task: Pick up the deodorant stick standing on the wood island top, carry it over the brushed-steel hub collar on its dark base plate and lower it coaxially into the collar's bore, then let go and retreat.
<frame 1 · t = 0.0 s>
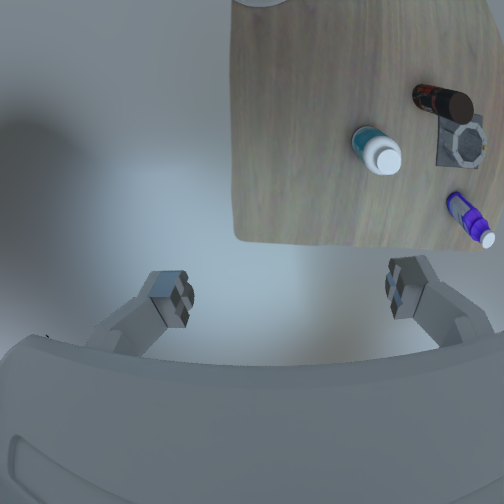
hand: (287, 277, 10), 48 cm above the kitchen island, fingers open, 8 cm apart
bottle: (454, 202, 54), on the kitchen island
pill bottle: (367, 141, 50), on the kitchen island
deodorant: (423, 97, 41), on the kitchen island
hub collar: (460, 139, 44), on the kitchen island
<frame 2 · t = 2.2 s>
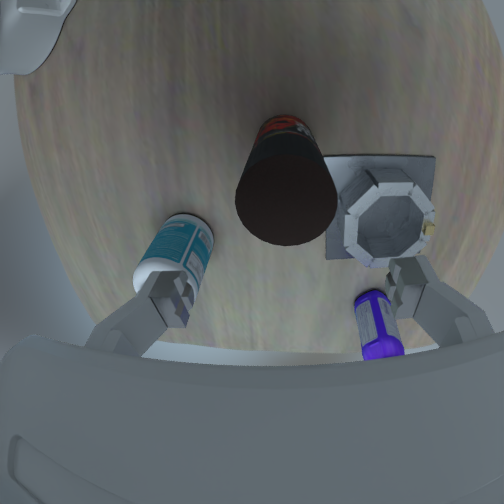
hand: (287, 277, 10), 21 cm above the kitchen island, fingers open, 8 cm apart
bottle: (371, 301, 40), on the kitchen island
pill bottle: (189, 234, 36), on the kitchen island
deodorant: (284, 140, 27), on the kitchen island
hub collar: (379, 208, 30), on the kitchen island
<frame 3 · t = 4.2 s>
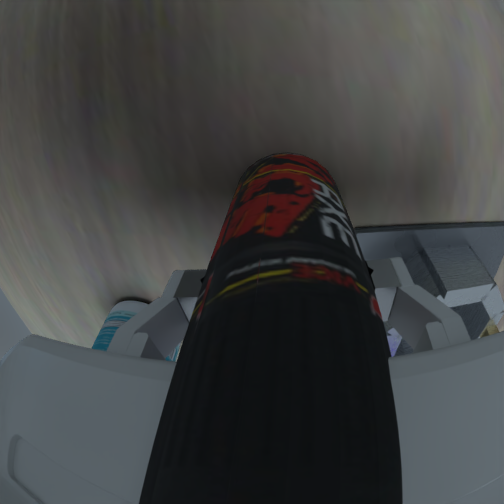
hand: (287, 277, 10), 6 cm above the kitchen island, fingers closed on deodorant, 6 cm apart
pill bottle: (148, 321, 24), on the kitchen island
deodorant: (287, 201, 15), on the kitchen island, touching gripper
hub collar: (426, 297, 18), on the kitchen island
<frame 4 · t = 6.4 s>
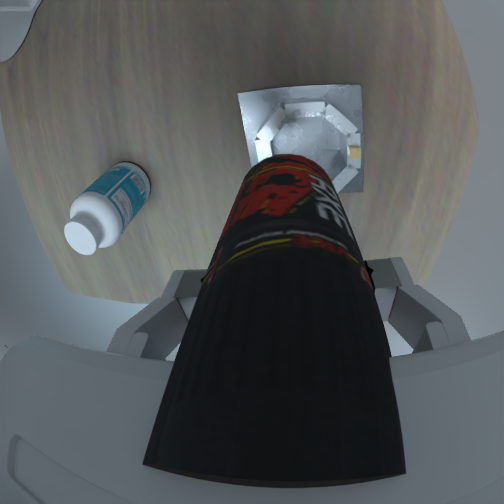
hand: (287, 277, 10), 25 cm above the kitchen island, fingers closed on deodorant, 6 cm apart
pill bottle: (130, 183, 36), on the kitchen island
deodorant: (287, 198, 17), point 17 cm above the kitchen island, touching gripper
hub collar: (306, 141, 30), on the kitchen island
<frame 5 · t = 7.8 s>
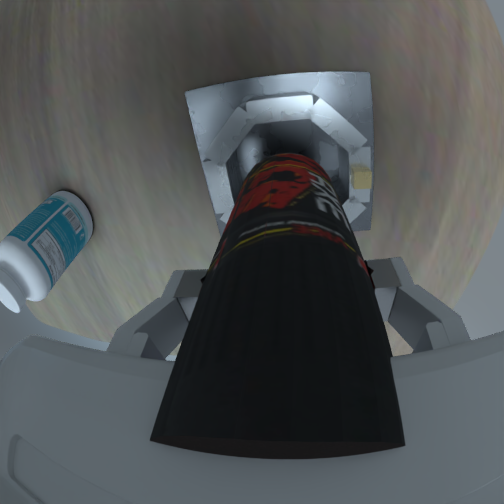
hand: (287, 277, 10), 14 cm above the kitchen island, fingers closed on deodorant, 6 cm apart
pill bottle: (73, 215, 27), on the kitchen island
deodorant: (287, 196, 17), point 5 cm above the kitchen island, touching gripper
hub collar: (288, 159, 21), on the kitchen island
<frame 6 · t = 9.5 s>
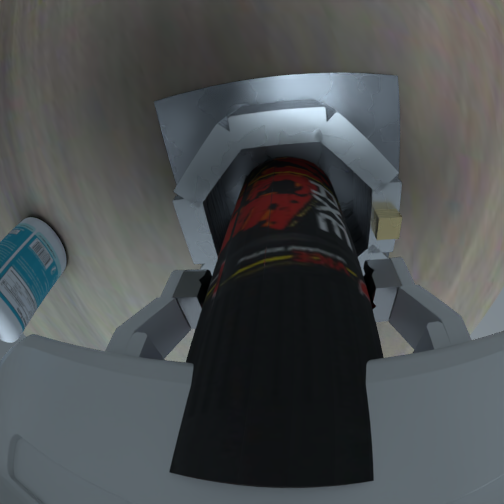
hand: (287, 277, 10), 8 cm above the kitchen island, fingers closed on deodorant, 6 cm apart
pill bottle: (46, 242, 22), on the kitchen island
deodorant: (287, 200, 17), resting on hub collar, touching gripper
hub collar: (289, 187, 17), on the kitchen island
when the fingers open (8 cm above the kitchen island, at t = 9.5 s): deodorant stays where it is, resting on hub collar.
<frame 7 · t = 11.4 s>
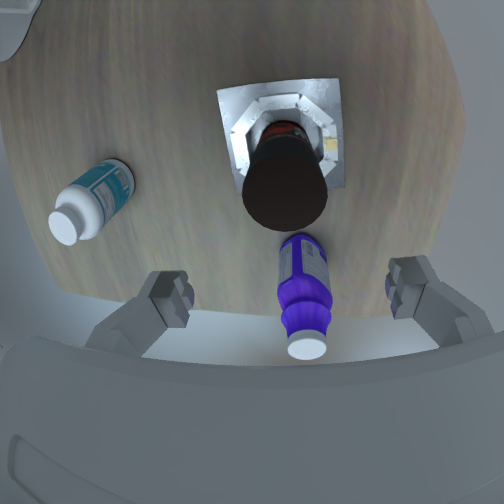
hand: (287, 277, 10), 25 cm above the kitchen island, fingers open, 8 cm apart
bottle: (302, 249, 40), on the kitchen island
pill bottle: (116, 179, 36), on the kitchen island
deodorant: (284, 143, 30), resting on hub collar
hub collar: (284, 136, 30), on the kitchen island
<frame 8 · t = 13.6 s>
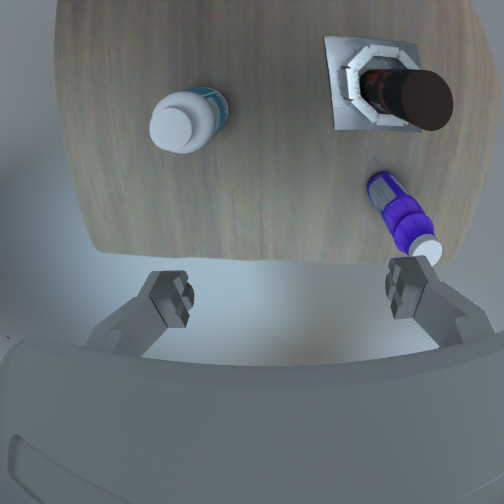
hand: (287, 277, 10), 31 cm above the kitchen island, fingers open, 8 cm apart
bottle: (383, 189, 39), on the kitchen island
pill bottle: (204, 110, 35), on the kitchen island
deodorant: (377, 88, 29), resting on hub collar
hub collar: (377, 83, 29), on the kitchen island
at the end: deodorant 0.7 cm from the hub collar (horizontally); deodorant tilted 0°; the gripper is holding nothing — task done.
